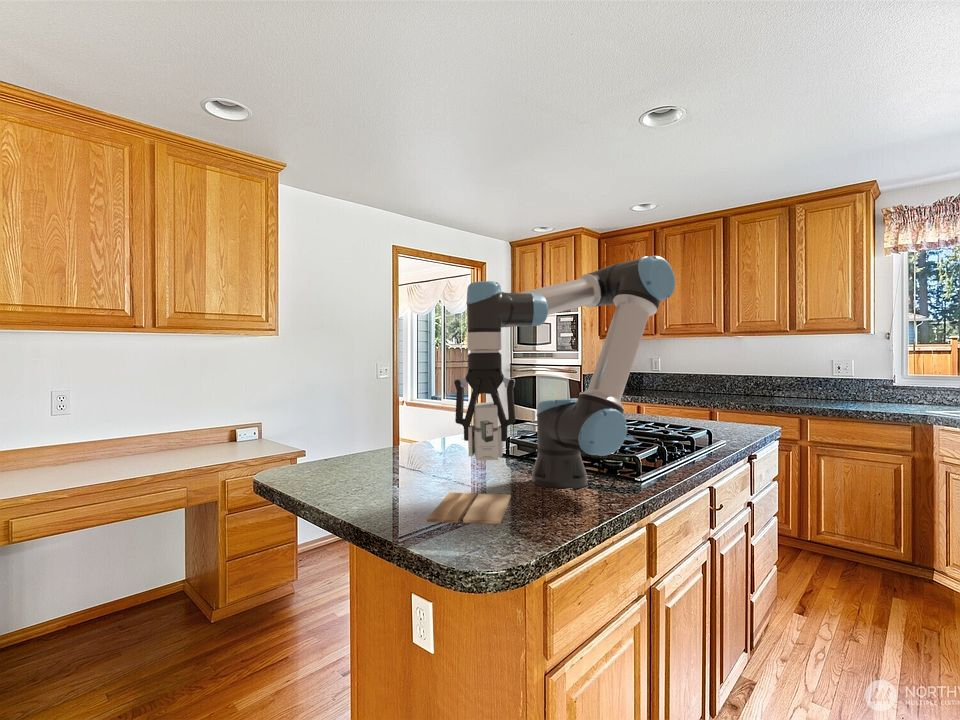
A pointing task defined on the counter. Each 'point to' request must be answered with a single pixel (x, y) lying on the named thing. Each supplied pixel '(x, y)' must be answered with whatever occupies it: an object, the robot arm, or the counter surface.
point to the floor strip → (452, 508)
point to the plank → (487, 509)
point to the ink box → (486, 431)
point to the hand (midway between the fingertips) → (485, 455)
